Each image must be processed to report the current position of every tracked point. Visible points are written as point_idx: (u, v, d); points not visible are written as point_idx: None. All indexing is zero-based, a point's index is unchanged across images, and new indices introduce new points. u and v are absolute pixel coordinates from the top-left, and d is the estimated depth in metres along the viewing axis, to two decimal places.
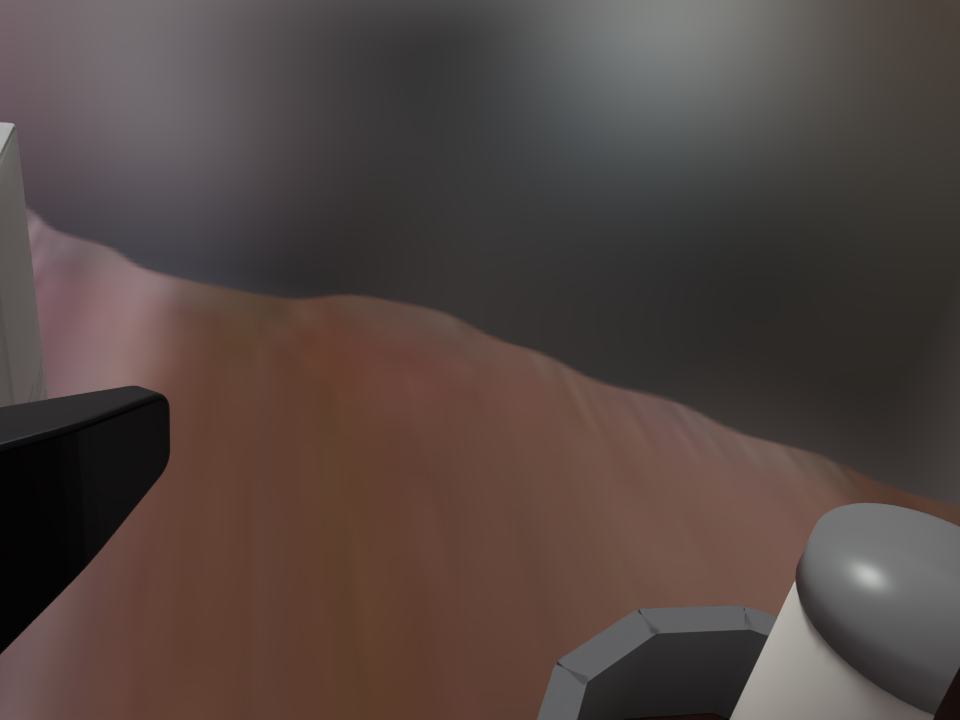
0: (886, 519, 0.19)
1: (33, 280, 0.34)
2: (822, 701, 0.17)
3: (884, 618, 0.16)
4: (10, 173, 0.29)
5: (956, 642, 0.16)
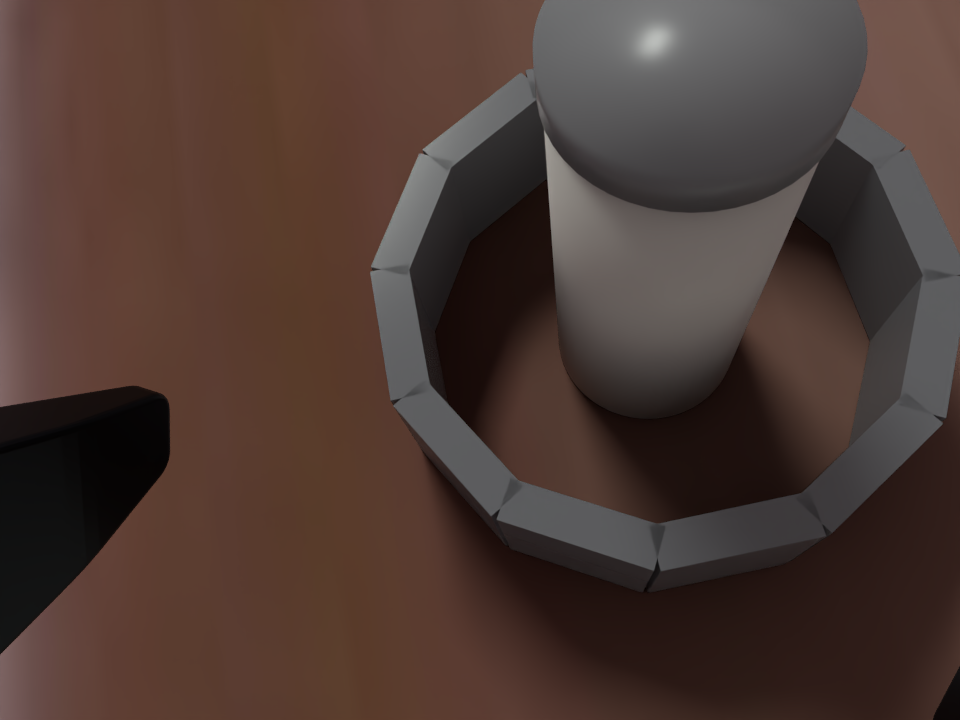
0: None
1: None
2: (565, 193, 0.15)
3: (589, 104, 0.13)
4: None
5: (674, 120, 0.13)
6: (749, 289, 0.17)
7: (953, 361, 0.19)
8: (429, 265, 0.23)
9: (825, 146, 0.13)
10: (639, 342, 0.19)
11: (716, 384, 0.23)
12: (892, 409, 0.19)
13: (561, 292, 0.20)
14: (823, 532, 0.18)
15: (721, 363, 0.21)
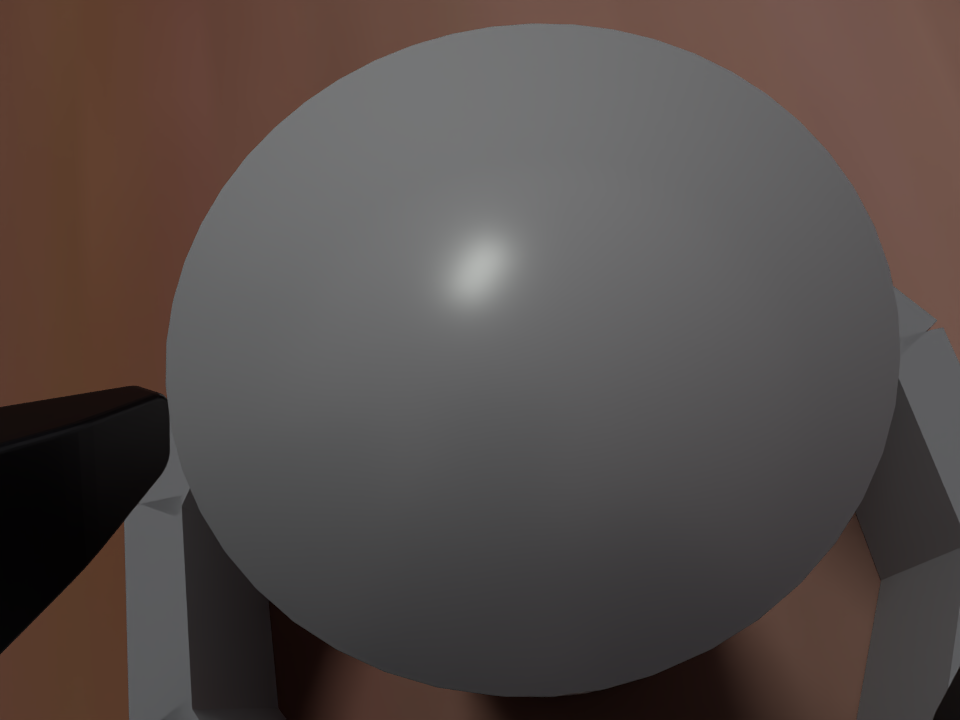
0: (481, 82, 0.07)
1: None
2: None
3: (266, 467, 0.06)
4: None
5: (448, 522, 0.06)
6: None
7: None
8: None
9: None
10: None
11: None
12: None
13: None
14: None
15: None
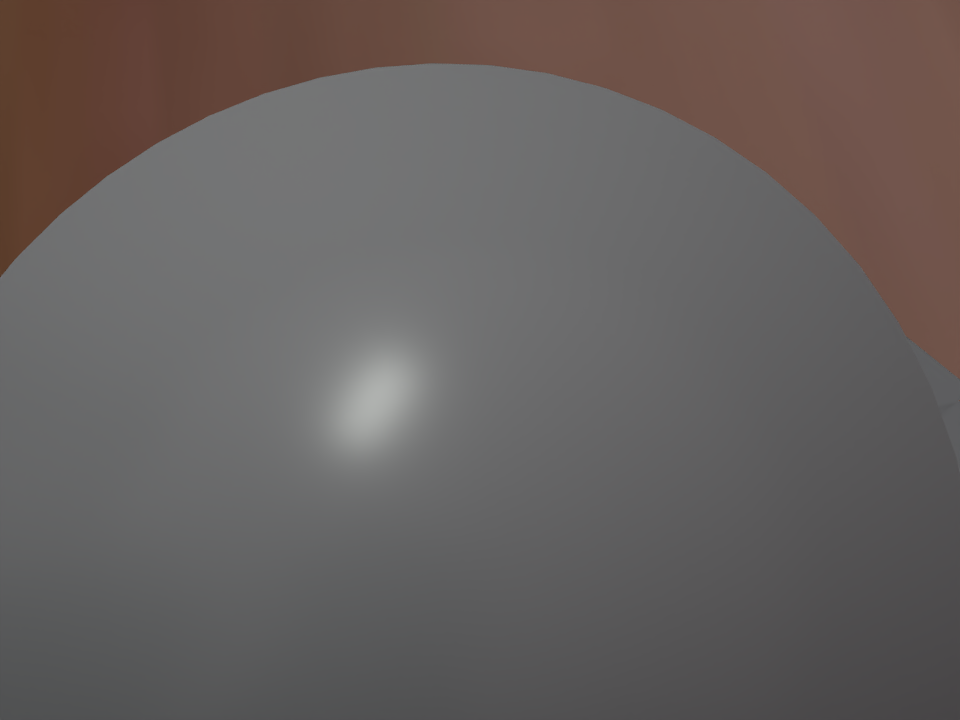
0: (355, 150, 0.05)
1: None
2: None
3: None
4: None
5: None
6: None
7: None
8: None
9: None
10: None
11: None
12: None
13: None
14: None
15: None
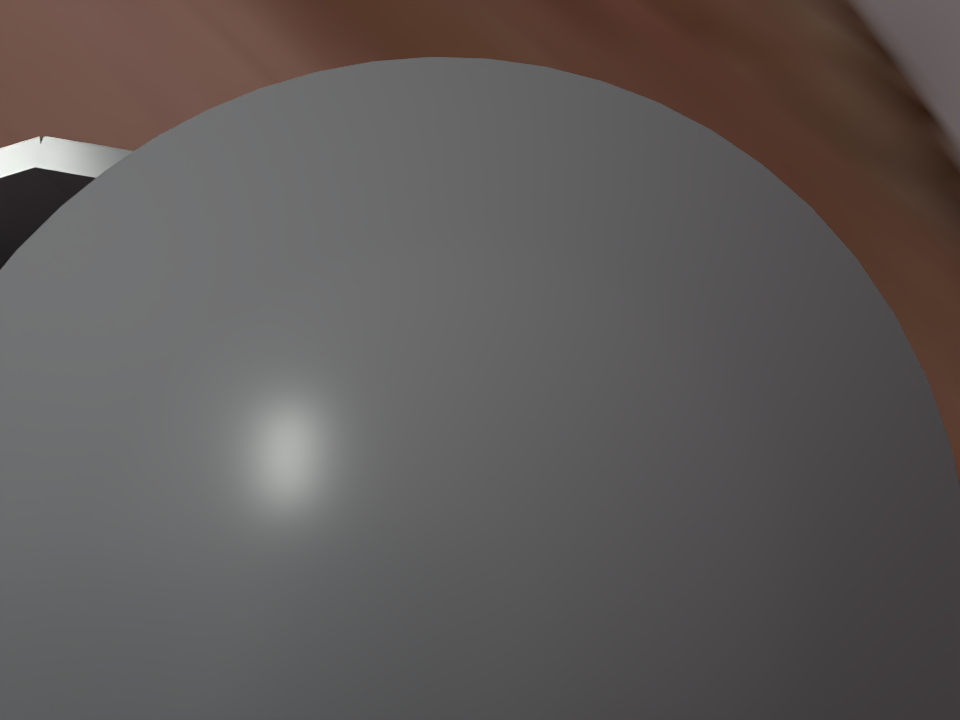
0: (352, 142, 0.05)
1: None
2: None
3: None
4: None
5: None
6: None
7: None
8: None
9: None
10: None
11: None
12: None
13: None
14: None
15: None
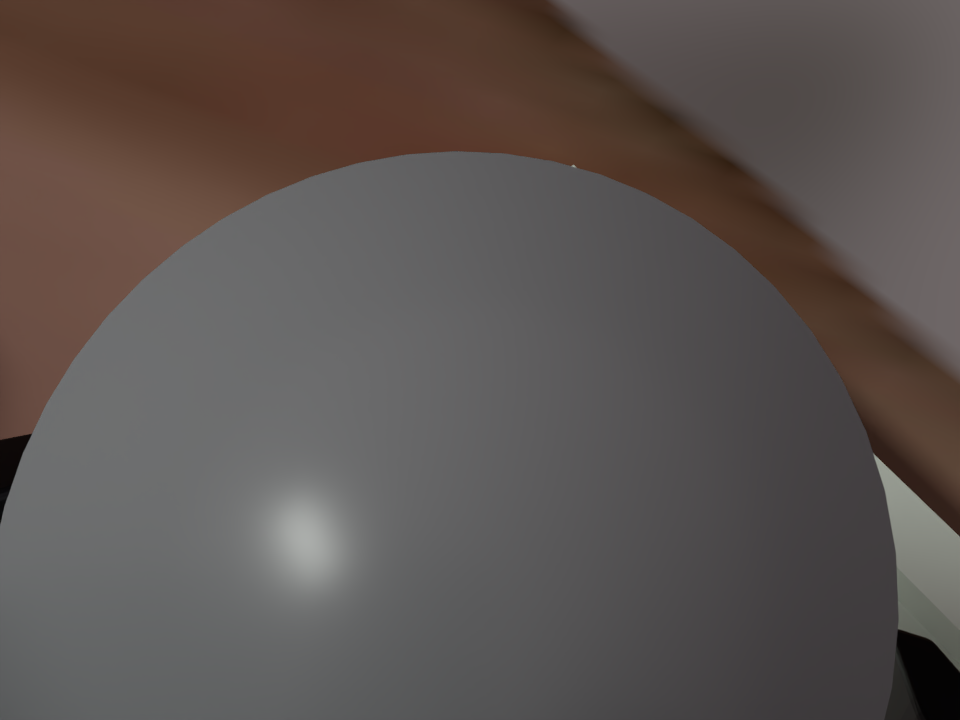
0: (391, 227, 0.06)
1: None
2: None
3: None
4: None
5: None
6: None
7: None
8: None
9: None
10: None
11: None
12: None
13: None
14: None
15: None
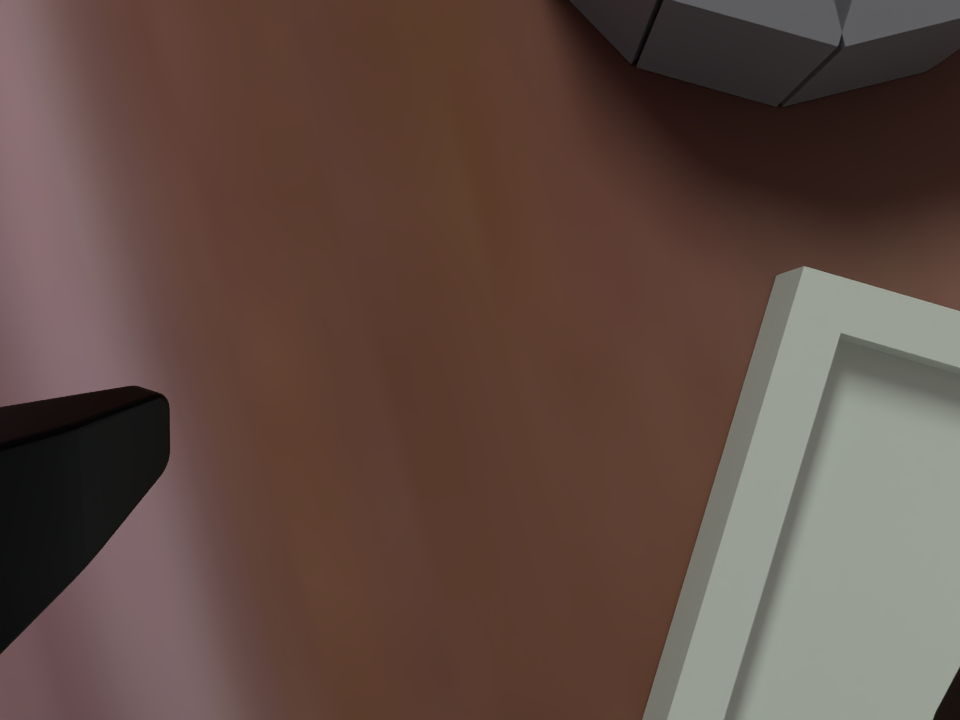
0: None
1: None
2: None
3: None
4: None
5: None
6: None
7: None
8: None
9: None
10: None
11: None
12: None
13: None
14: None
15: None
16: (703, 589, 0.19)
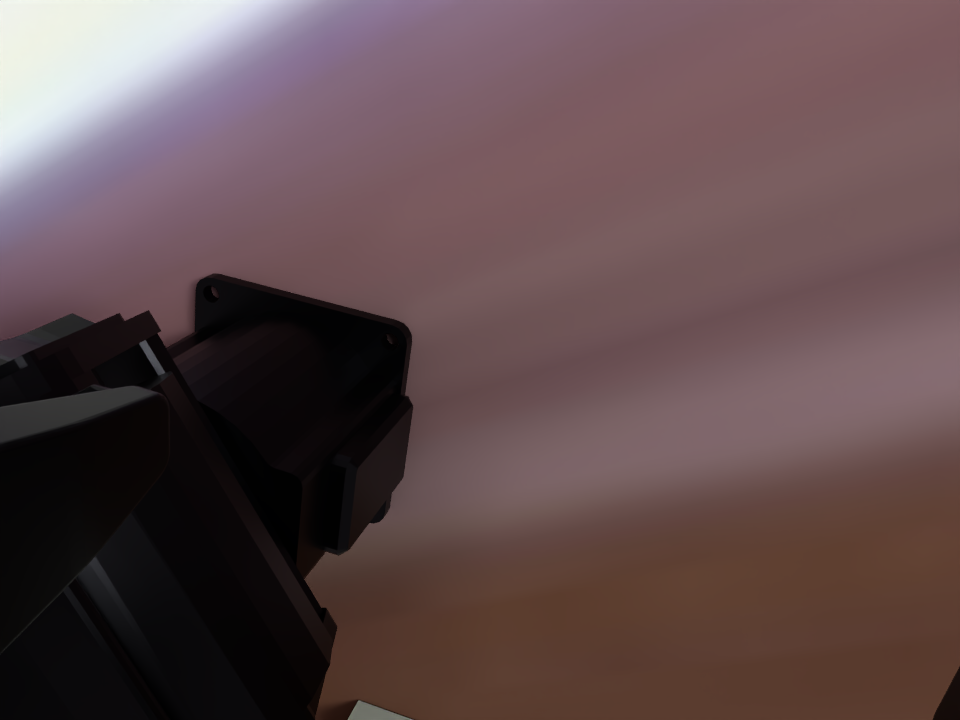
0: None
1: None
2: None
3: None
4: None
5: None
6: None
7: None
8: None
9: None
10: None
11: None
12: None
13: None
14: None
15: None
16: None
